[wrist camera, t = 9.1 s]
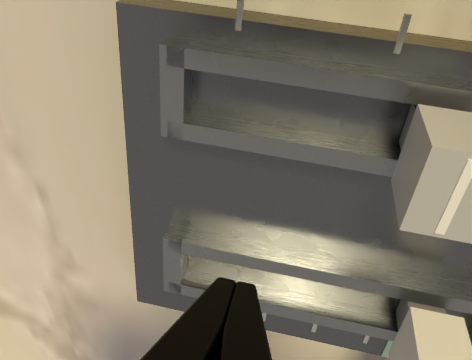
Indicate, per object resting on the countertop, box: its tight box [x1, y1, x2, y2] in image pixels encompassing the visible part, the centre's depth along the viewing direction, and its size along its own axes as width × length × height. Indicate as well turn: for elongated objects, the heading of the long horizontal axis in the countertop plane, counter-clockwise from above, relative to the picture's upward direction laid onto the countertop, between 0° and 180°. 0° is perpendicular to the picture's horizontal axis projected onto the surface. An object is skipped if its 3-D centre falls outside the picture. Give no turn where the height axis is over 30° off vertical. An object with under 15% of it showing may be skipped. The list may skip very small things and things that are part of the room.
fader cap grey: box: [391, 104, 472, 244], centre depth 15 cm, size 2×3×5 cm
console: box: [116, 0, 472, 358], centre depth 21 cm, size 22×19×3 cm
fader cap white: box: [388, 300, 472, 360], centre depth 21 cm, size 2×4×5 cm, turn 175°
